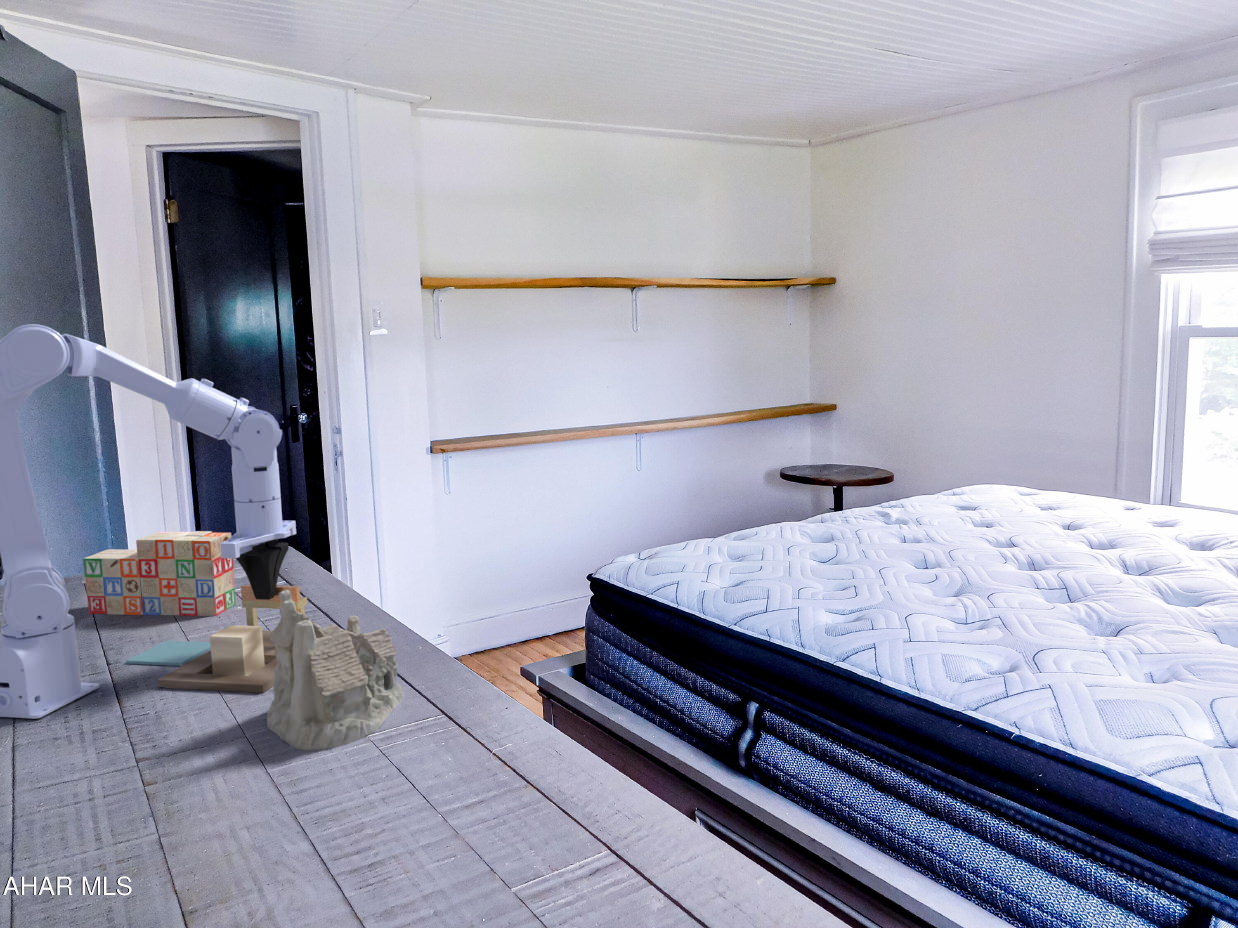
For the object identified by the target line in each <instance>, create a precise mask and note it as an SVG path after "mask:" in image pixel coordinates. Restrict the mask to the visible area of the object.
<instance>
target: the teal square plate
mask: <svg viewBox="0 0 1238 928" xmlns="http://www.w3.org/2000/svg"><path fill="white" fill-rule="evenodd" d="M210 650H211V646H210V641H191V640H190V641H188V640H187V641H185V640H165V641H163V642H160V643H158V644H156V645H155V646H152V647H151V648H149V649H146V650H145V651H143V652H141V653H138V654H136V655H134V656H132V657H131V658H129V659H127V660H125V663H126V664H130V665H131V664H132V665H148V666H149V665H150V664H151V665H153V666H168V667H169V666H171V667H181V666H183V665H185V664H187V663H189V662H190V661H192V660H194V659H196V658H198V657H199V656H201V655H203V654H205V653H207V652H208V651H210ZM151 665H150V666H151Z"/></svg>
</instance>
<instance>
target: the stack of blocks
mask: <svg viewBox="0 0 1238 928" xmlns="http://www.w3.org/2000/svg"><path fill="white" fill-rule="evenodd" d="M230 537H232V532H218V531H217V532H216V531H214V532H213V531H211V530H210V531H209V530H207V531H206V530H204V531H203V530H197V531H196V530H195V531H157V532H153V533H152V534H149V535H146V536H143V537H140V538H138V539H135V541H136V542H135V544H136V549H115V548H114V549H109V548H108V549H105V550H102V551H99V552H97V553H95V554H93V555H89V556H86V557H82V565H83V573H84V577H85V587H86V588H85V589H86V595H87V605H88V606H87V607H88V608H87V609H88V612H89V613H88V614H90V615H115V616H116V615H119V616H120V615H123V616H124V615H126V616H129V615H130V616H189V617H190V616H198V617H202V616H203V617H217V616H218V615H220V614H221V613H224V612H225V611H227V610H228V609H231V608H232V607H234V606H236V603H237V602H236V601H237V600H236V589H235V588H236V587H235V574H234V568H235V566H234V565H235V564H234V558H221V547H220V544H221V543H223V542H225V541H227V540H228V539H229V538H230Z"/></svg>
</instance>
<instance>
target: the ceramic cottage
mask: <svg viewBox="0 0 1238 928" xmlns="http://www.w3.org/2000/svg"><path fill="white" fill-rule="evenodd" d="M279 596H280V599H281V601H282V602H281V606H280V609H279V615H280V620H279V623H278V624H277V626H276V627H275V629H273V630H272V631H273V632H272V634H271V639H270V641H271V642H272V644H273V645H274V646H275V655H276V661H277V665H276V667H275V669H274V673H275V676H274V683H273V686H272V691H273V700H272V701H271V703H270V706H269V709H268V711H267V713H266V727H267V728H268V729H269V730H270V731H272V732H273V733H275V734H276V735H277V736H278V737H279V738H280V739H281V740H283V741H284V742H286V743H287V744H288V745H289V746H291V747H292V748H294V749H296V750H301V751H307V752H311V751H314V752H315V751H325V750H332V749H333V750H334V749H337V748H339V747H342V746H346V745H350V744H352V743H355V742H357V741H359V740H361V739H365V737H367V736H369V735H372V734H374V733H376V732H377V731H378V730H379V729H380V728H381V727H382V726H383V725H384V723H385V722H386V720H388V718H389V717H390V716H391V715H392V714H393V711H394V710H396V709H397V708H398V706H399V705H400V703H401V702H402V701H403V700H404V698H405V692H404V688H403V687H402V686H401V684H399V683H398V682H397V678H396V677H397V676H398V666H397V665H398V662H397V659H396V656H397V655H398V653H397V650H396V648H395V646H394V642H393V641H392V639H391V636H390V634H389V632H388V631H387V630H386V628H381V629H377V630H374V631H371V632H366V633H362V632H361V626H360V618H359V617H358V616H357V615H351V616H349V617H348V618H347V626H346V630H345V629H344V628H341V627H339V626H338V625H337V624H336V625H335V624H333V623H329V624H328V626H326V627H323V628H322V626H321V625H320V624H319V623H315V622H314V621H313V620H312V619H311V618H310V617H309V616H307V615H306V614H305V615H304V614H302V613H299V612H297V611H296V607H295V602H294V601H292V597H291V593H290V591H289V590H284V591H282V592H280V593H279Z"/></svg>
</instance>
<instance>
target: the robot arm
mask: <svg viewBox="0 0 1238 928" xmlns="http://www.w3.org/2000/svg"><path fill="white" fill-rule="evenodd" d="M66 368H67V372H66V376H70V377H98V378H101V379H103V380H105V381H108V382H111V383H113V384H115V385H116V386H117V385H118V386H120V387H122V388H125V389H127V390H130V391H131V392H135V393H137V394H139V395H141V396H144V397H146V398H149V399H151V400H154V401H155V402H158V403H161V404H162V405H164V407H165V409H166V411H167V414H168V416H169V418H170V419H171V420H172V421H174V422H177V423H179V424H182V425H184V426H186V427H187V428H190V429H193V430H196V431H198V432H200V433H203V434H205V435H206V436H209V437H212V438H213V439H216V440H218V441H219V440H220V441H221V440H225V442H227V444H228V445H229V446H230V447H231V449H230V450H231V460H232V461H231V463H232V465H231V474H232V475H231V477H232V486H233V487H232V489H233V500H234V501H233V504H234V515H235V526H236V527H235V528H236V532H235V533H234V534H233V535H231V537H230V538H229V539H228V540H227V541H225V542H223V543H221V544H220V547H221V558H233V559H235V560H237V562H238V564H239V565H240V566H241V568H242V569H243V571H244V573H245V575H246V577H247V579H248V581H249V585H251V587H252V590H253V593H254V596H255V598H256V599H260V600H270V599H272V598H274V596H275V591H276V586H278V585H277V584H278V580H279V574H280V571H281V568H282V564H283V561H284V558H285V557H286V554H288V551H289V543H288V542H278V540H279V539H286V538H288V537H290V536H294V535H297V528H296V527H297V524H296V520H283V513H282V498H281V496H282V494H281V482H280V470H279V469H280V467H279V463H278V451H277V447H278V446H279V444H280V442H281V440H282V436H283V429H280V425H279V422H278V420H276V419H275V417H274V416H273V414H271V413H270V412H268V411H265V410H263V409H257V408H256V407H255V406H250V405H249V403H250V401H249V400H248V399H247V398H244V397H240V398H239V399H238V398H235V397H234V396H231V395H229V394H227V393H226V392H223V391H221V390H218V389H217V388H214V387H213V386H214V382H213V381H210V380H208V379H206V378H201V380H200V381H199V380H197V379H195V378H192V377H191V378H187V379H184V380H182V381H181V380H180V381H178V382H176V381H174V380H173V379H171V378H168V377H166V376H164V375H162V374H160V373H158V372H156V371H155V370H152V369H150V368H148V367H146V366H144V365H142V364H139V363H137V362H136V361H133V360H131V359H129V358H128V357H125V356H123V355H121V354H120V353H117V352H116V351H113V350H111V349H109V348H107V347H105V346H104V345H100V344H99V343H95V342H93V341H90V340H86V339H84V338H82V337H81V338H80V337H77V336H74V335H72V334H68V333H63V334H60V332H58V331H57V330H55V329H53V328H52V327H49V326H46V325H43V324H42V325H41V324H37V323H31V324H30V323H29V324H28V323H27V324H23V325H20V326H17V327H15V328H13V329H12V330H11V331H9V333H7V334H6V335H5V336H3V337H2V338H1V339H0V557H1V561H2V567H3V573H4V577H5V580H4V583H3V585H2V586H3V587H2V599H3V605H2V613H3V618H4V619H5V623H4V624H2V625H1V626H0V633H1V634H0V718H17V719H19V718H20V719H34V720H35V719H36V720H37V719H41V718H43V717H45V716H47V715H48V714H50V713H52V712H54V711H56V710H58V709H60V708H62V707H64V706H66V705H68V704H70V703H72V702H74V701H77V699H79V698H81V697H84V696H85V695H87V694H90V693H91V692H93V691H95V690H96V689H99V688H100V683H97V682H96V683H95V682H82V680H81V679H82V678H81V669H80V662H79V652H78V651H79V650H78V641H77V633H76V632H77V631H76V622H75V616H74V615H72V614H70V613H68V612H69V610H70V605H71V604H70V603H71V602H70V601H71V600H70V596H69V594H68V591H67V590H66V584H65V580H64V578H63V576H62V575H61V573H60V572H59V571H58V570H57V569H56V568H55V567H54V566H53V564H52V563H51V560H50V557H49V551H48V547H47V544H46V543H47V542H46V538H45V536H44V530H43V526H42V522H41V518H40V514H39V510H38V506H37V505H38V504H37V501H36V497H35V493H34V489H33V484H32V479H31V475H30V471H29V467H28V462H27V458H26V454H25V451H24V446H23V443H22V439H21V437H22V436H21V433H20V429H19V424H18V420H17V415H16V412H17V410H19V408H20V407H22V405H23V404H24V403H25V402H26V401H27V400H28V398H29V397H30V396H31V395H32V394H33V393H34V391H35V390H36V389H38V388H39V387H41V386H44V385H45V384H47V383H48V382H50V381H52V380H53V379H55V378H56V377H59V375H61V374H63V372H64V371H65V370H66Z"/></svg>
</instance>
